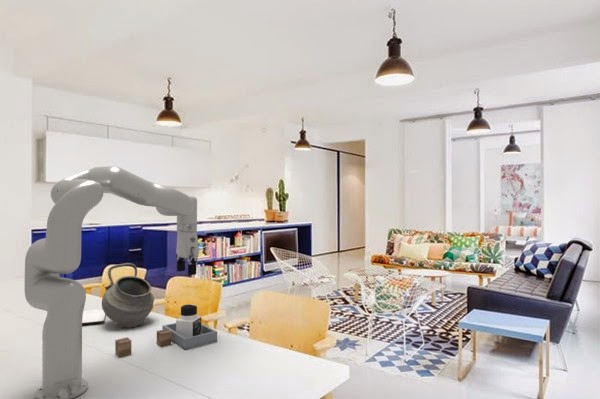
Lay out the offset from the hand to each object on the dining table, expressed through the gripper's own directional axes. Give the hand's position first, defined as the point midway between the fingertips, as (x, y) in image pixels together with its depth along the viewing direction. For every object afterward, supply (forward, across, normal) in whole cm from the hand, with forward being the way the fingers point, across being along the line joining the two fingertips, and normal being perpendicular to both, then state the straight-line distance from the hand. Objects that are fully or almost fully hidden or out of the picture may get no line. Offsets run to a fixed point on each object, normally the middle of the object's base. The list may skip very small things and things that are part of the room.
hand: (186, 272), depth 154 cm
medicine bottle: (+25, 0, -1) cm, 25 cm away
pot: (+26, +33, +11) cm, 43 cm away
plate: (+26, +50, +25) cm, 62 cm away
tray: (+25, 0, -1) cm, 25 cm away
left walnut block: (+26, -1, +23) cm, 35 cm away
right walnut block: (+26, 0, +9) cm, 27 cm away
